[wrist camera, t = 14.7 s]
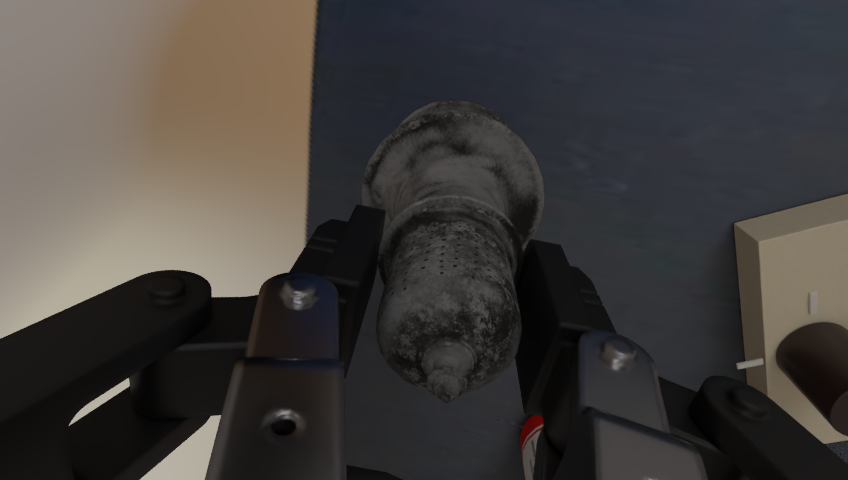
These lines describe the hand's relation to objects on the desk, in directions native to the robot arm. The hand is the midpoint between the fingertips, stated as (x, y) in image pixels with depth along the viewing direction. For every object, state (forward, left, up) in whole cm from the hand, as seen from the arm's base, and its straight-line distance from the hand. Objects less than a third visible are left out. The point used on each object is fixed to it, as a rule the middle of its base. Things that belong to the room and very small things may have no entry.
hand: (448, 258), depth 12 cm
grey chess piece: (0, 0, -7) cm, 7 cm away
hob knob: (+18, +16, -13) cm, 27 cm away
